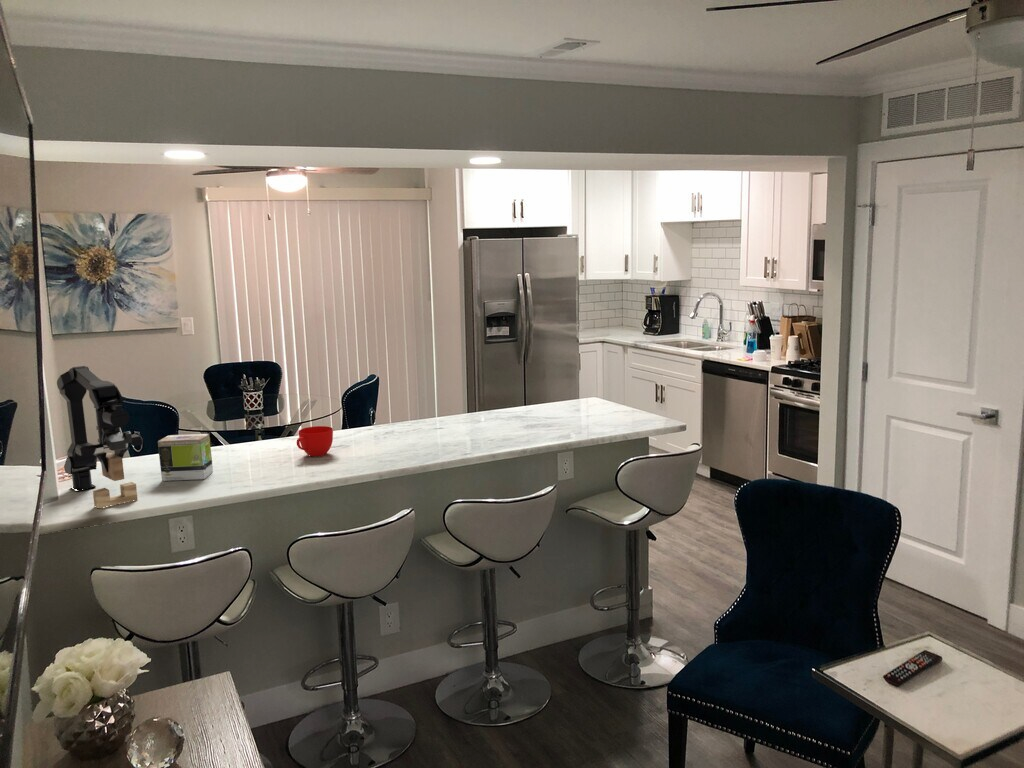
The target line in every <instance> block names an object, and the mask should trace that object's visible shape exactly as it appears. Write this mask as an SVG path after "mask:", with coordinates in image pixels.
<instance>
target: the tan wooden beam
mask: <svg viewBox="0 0 1024 768" xmlns="http://www.w3.org/2000/svg"><path fill="white" fill-rule="evenodd" d="M106 453H107V454H106V459H107V464H108V472H106V471H105V469H104V468H103V466H102V464H101V463H100V464H101V465H100V466H101V474H102V476H103V477H105V478H107V479H109V480H112V481H113V482H116V481H117V482H118V481H123V480H125V472H124V463H123V462H124V461H123V458H122V457H119V456H117V455H115V453H112V452H106Z"/></svg>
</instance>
